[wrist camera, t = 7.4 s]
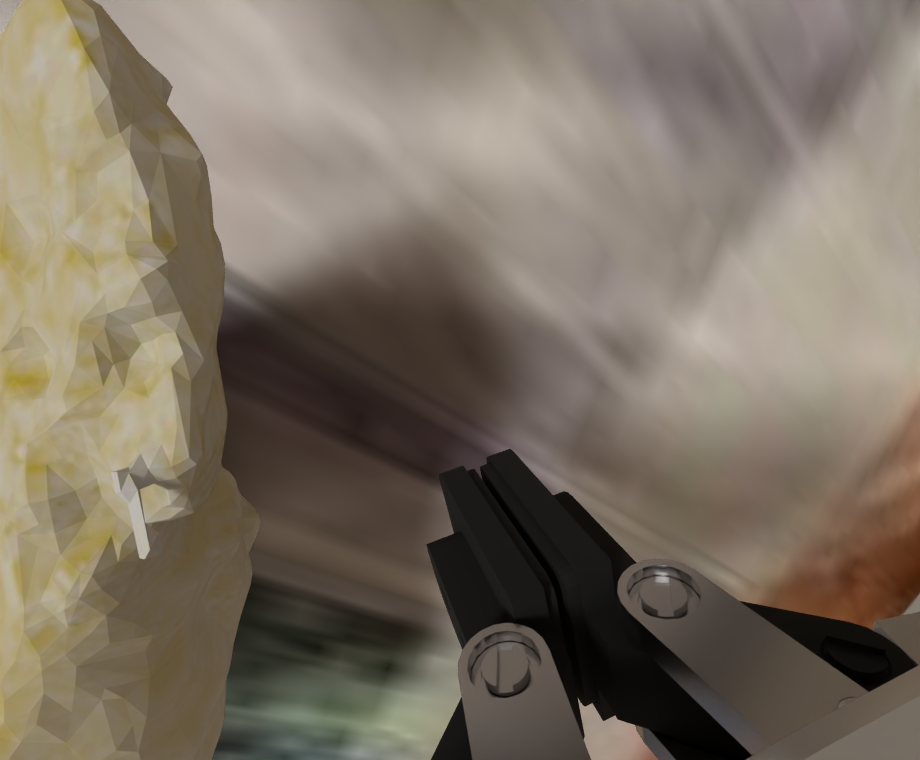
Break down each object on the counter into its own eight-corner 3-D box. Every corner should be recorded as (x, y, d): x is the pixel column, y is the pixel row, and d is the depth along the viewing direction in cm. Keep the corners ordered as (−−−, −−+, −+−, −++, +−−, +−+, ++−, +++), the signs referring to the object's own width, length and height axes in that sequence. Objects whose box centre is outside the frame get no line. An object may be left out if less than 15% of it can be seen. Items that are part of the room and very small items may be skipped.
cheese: (100, 707, 18) (496, 785, 12) (-237, 926, 12) (268, 1344, 5) (21, 278, 18) (390, 137, 12) (-378, 248, 11) (2, -118, 5)
